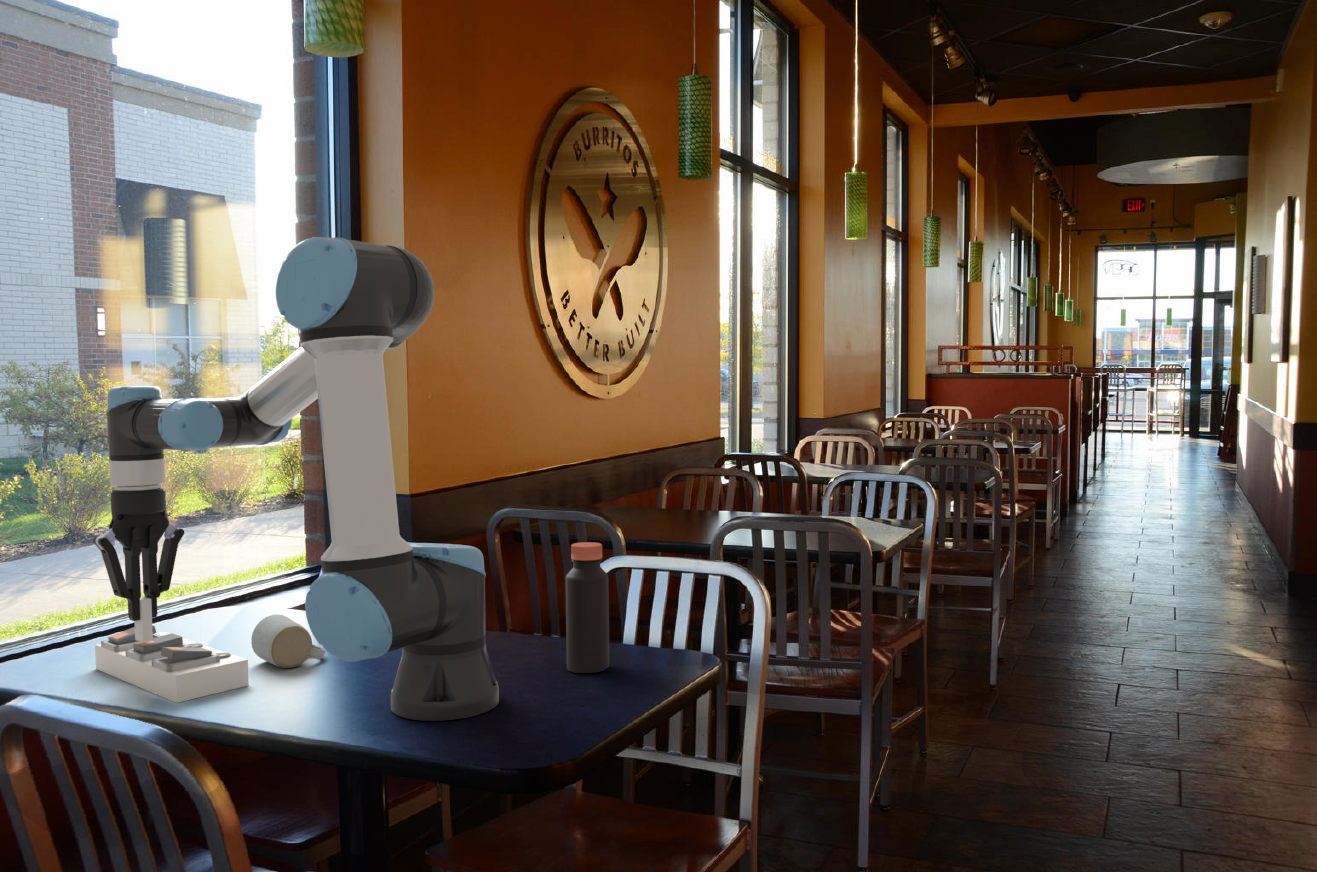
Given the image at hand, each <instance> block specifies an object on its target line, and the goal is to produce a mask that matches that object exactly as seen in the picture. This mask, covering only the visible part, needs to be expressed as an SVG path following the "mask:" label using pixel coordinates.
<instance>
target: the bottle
mask: <svg viewBox="0 0 1317 872" xmlns="http://www.w3.org/2000/svg"><path fill="white" fill-rule="evenodd" d="M570 550H571V551H570V557H571V562H572V563H573V566H572V568H571V569H570V570H569V571H568V573H567V574H566V576H565V625H566V627H565V630H566V631H565V634H566V637H565V639H566V669H567V671H569V672H570V671H571V672H570V673H573V672H574V673H573V674H577V673H594V672H599V671H602V670H604V669H606V668H608V667H609V668H610V612H609V611H610V610H609V609H610V607H609V605H610V604H609V603H610V601H609V598H610V597H609V593H610V591H609V576H608V573H607V572H606V571H605V570H604V569H603V567H601V563H602V561H603V560H602V559H603V544H602V543H600V542H595V541H593V542H591V541H589V542H588V541H586V542H583V541H582V542H575V543H572V544H570ZM609 668H608V669H609Z"/></svg>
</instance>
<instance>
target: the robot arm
mask: <svg viewBox="0 0 1317 872" xmlns="http://www.w3.org/2000/svg"><path fill="white" fill-rule="evenodd" d="M434 286H435V285H434V280H433V277H432V275H431V273H430V271H429V269H428V268H427V266H426V265H425V263H424V262H423V260H421V259H420V258H419V257H418V256H417V255H415V254H413V253H412V252H411V251H408V250H407V249H405V248H402V247H399V246H393V245H383V244H377V243H372V242H366V241H360V240H354V239H353V240H352V239H349V238H347V239H346V238H343V237H341V236H340V237H339V236H335V237H324V236H323V237H321V236H318V237H317V236H316V237H310V238H306V239H304V240H302V241H300V242H299V243H297V244H296V245H294V246H293V247H292V248H291V250H289V252H288V253H287V255H286V257H285V259H284V260H283V261H282V262H281V265H280V267H279V270H278V272H277V276H276V281H275V289H274V290H275V291H274V293H275V302H276V306H277V308H278V309H277V310H278V312H279V314H280V315H282V316H283V317H284V319H283V320H285V322H286V323H288V324H289V325H291V326H292V327H294V328H295V329H297V330H298V331H299V341H300V347H299V348H297V349H296V350H295V351H294V352H293V353H291V354H290V355H289V356H288V357H287V358H285V359H284V361H282V362H281V363H280V364H279V365H277V366H275V368H274V369H272V370H271V371H270V372H268V374H266V375H265V376H264V377H263V378H262V379H260V380H259V381H258V382H256V384H254V385H253V386H252V387H250V388H249V389H248V390H247V391H245V392H244V393H243V394H242V395H239V396H237V397H235V396H234V397H216V398H215V397H214V398H213V397H211V398H194V397H193V398H186V397H185V398H169V399H167V398H165V399H164V398H163V395H162V394H163V393H162V390H161V388H160V387H159V386H156V385H155V386H154V385H151V386H150V385H146V386H142V385H139V386H138V385H135V386H133V385H132V386H131V385H130V386H126V385H125V386H113V387H111V388H110V389H109V390H108V392H107V406H106V407H107V410H106V412H105V413H106V414H105V415H106V420H107V421H106V422H107V439H108V440H107V441H108V455H109V480H110V481H109V484H110V486H111V487H113V488H114V489H113V490H111V492H110V511H111V520H110V522H109V524H108V525H109V526H108V530H107V531H105V532H104V533H103V534H101V535H100V536H99V535H98V536H95V537H94V538H93V540H92V541H93V543H94V545H95V546H96V547H97V548H98V550H100V553H101V556H102V558H103V562H104V566H105V570H106V572H107V575H108V578H109V579H108V580H109V582H110V586H111V588H112V591H113V594H114V596H115V597H119V598H123V599H126V600H127V611H128V613H127V614H128V615H127V616H128V619H129V621H132V622H134V627H135V640H137V641H140V642H148V641H153V631H152V625H153V619H154V618H157V617H158V599H159V598H160V596H161V594H162V593H164V592H168V591H169V589H170V587H171V582H172V578H173V572H174V569H175V568H174V567H175V564H176V563H175V562H176V557H177V552H178V547H179V543H180V542H181V540H182V538H183V537H184V535H185V530H184V529H183V528H179V527H177V526H174V525H172V524H170V520H169V517H167V514H166V513H167V512H166V511H167V499H166V498H167V497H166V489H165V488H164V487H162V485H164V484H165V483H166V474H165V473H166V471H165V470H166V469H165V450H174V451H180V452H187V453H189V452H195V451H196V452H197V451H202V450H203V451H204V450H207V449H210V448H223V447H236V446H237V447H239V446H253V445H256V446H263V445H268V444H270V443H271V444H272V443H277V442H280V441H282V440H284V439H285V438H286V437H287V436H288V435H289V430H290V429H291V427H292V423H293V418H294V417H295V416H296V417H297V415H299V413H301V412H302V411H303V410H305V409H306V408H308V407H309V406H310V405H311V404H313V403H314V402H315V401H316V400H318V401H317V402H318V410H319V422H320V433H321V442H322V443H321V444H322V453H323V454H322V455H323V461H324V462H323V463H324V473H325V483H326V486H325V487H326V494H327V495H326V496H327V507H328V516H329V528H330V535H331V537H330V538H331V543H330V545H329V547H328V548H327V549H326V550H325V551H324V552H323V554H322V555H321V556H320V564H321V575H319V576H318V577H317V578H316V579H315V580H314V581H313V582H312V583H311V584H310V586H309V590H308V591H307V592H306V596H305V602H304V604H305V605H304V606H305V607H304V609H305V610H304V611H305V617H306V620H307V624H308V627H309V629H310V631H311V633H312V635H313V637H314V639H315V640H316V641H317V643H318V644H319V645H320V646H323V647H322V648H323V649H324V650H325V651H326V652H327V653H328V654H330V655H331V656H332V657H334V658H336V659H339V660H342V661H346V662H358V661H363V660H368V659H377V658H380V657H382V656H384V655H385V654H387V653H390V652H393V651H396V650H399V649H402V652H401V653H402V654H401V657H400V662H399V664H398V668H397V671H396V675H395V679H394V682H393V687H392V689H391V691H390V710H391V712H392V713H393V714H394V715H395V716H398V717H402V718H404V719H410V720H415V721H426V722H427V721H429V722H430V721H431V722H436V721H439V722H441V721H452V720H460V719H467V718H470V717H471V718H472V717H475V716H479V715H483V714H485V713H487V712H489V711H491V710H493V709H494V708H495V707H497V706H498V705H499V703H500V691H499V689H500V688H499V683H498V681H497V679H496V678H497V677H496V674H495V672H494V669H493V665H492V662H491V660H490V658H489V654H488V651H487V645H486V640H487V639H486V575H487V573H486V571H485V559H484V555H483V553H482V551H481V550H480V549H479V548H478V547H475V546H472V545H463V544H451V543H434V542H433V543H431V542H429V543H428V542H412V543H411V542H408V541H406V540H405V539H404V538H403V537H402V536H401V535H400V526H399V515H398V505H397V504H398V503H397V502H398V501H397V493H396V492H397V491H396V483H395V473H394V461H393V460H394V459H393V452H392V451H393V450H392V438H391V429H390V419H389V417H390V415H389V408H388V397H387V388H386V375H385V366H384V353H385V351H386V350H387V349H389V350H390V349H391V350H392V349H395V348H397V347H398V346H400V345H401V344H402V343H403V342H405V341H406V340H408V339H409V338H410V337H411V336H413V335H414V334H415V333H416V332H418V330H419V329H420V328H421V327H422V326H423V325H424V324H425V323H426V321H427V319H428V317H429V316H430V314H431V312H432V310H433V307H434V302H435V287H434ZM163 537H164V541H163V545H162V549H161V553H160V558H159V564H158V556H157V555H158V554H157V553H158V551H159V544H158V543H159V542H160V540H161V539H162V538H163ZM115 539H116V541H118V543H119V544H120V545H121V546H122V553H123V555H124V572H123V569H122V566H121V562H120V559H119V556H118V553H117V551H116V548H115V544H116V541H115ZM140 556H141V559H140ZM141 569H142V578H141ZM124 574H125V575H124ZM141 579H142V583H141ZM141 584H142V586H141ZM142 592H143V594H144V595H143V596H142Z"/></svg>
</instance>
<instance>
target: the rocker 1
mask: <svg viewBox="0 0 1317 872" xmlns="http://www.w3.org/2000/svg"><path fill="white" fill-rule="evenodd" d="M155 626H156V625H153V624H152V631H153V634H155V633H157V630H156V627H155ZM107 640H109V642H110V643H113V644H115V645H122V644H127V643H132V642H135V641H137V640H135V626H133V627H131V628H128V629H126V630H122V631H121V632H118V633H115V634H112V635H110V636H108V637H107Z"/></svg>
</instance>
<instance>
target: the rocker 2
mask: <svg viewBox="0 0 1317 872" xmlns="http://www.w3.org/2000/svg"><path fill="white" fill-rule="evenodd" d="M211 655H212V651H210V650H207V649H204V648H201V647H162V651H161V656H164V657H167V658H170V659H201V658H205V657H210V656H211Z"/></svg>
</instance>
